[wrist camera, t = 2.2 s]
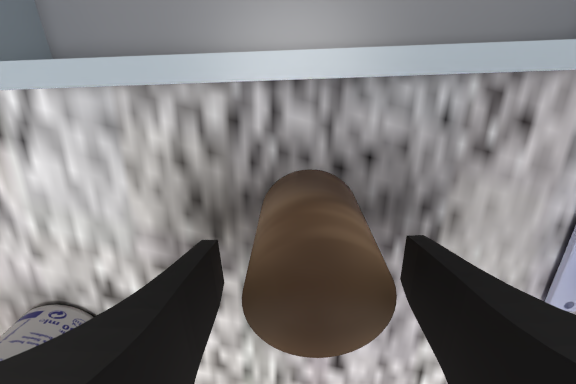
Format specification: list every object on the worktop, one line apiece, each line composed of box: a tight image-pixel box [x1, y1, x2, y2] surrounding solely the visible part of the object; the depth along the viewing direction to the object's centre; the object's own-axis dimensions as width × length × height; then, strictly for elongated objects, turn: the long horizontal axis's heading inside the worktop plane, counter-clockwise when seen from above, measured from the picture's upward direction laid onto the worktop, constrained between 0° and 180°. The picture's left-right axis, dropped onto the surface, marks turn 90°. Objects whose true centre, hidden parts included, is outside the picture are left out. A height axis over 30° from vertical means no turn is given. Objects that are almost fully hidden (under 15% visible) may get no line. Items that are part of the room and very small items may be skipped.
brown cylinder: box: [242, 170, 397, 358], centre depth 12 cm, size 5×5×6 cm
